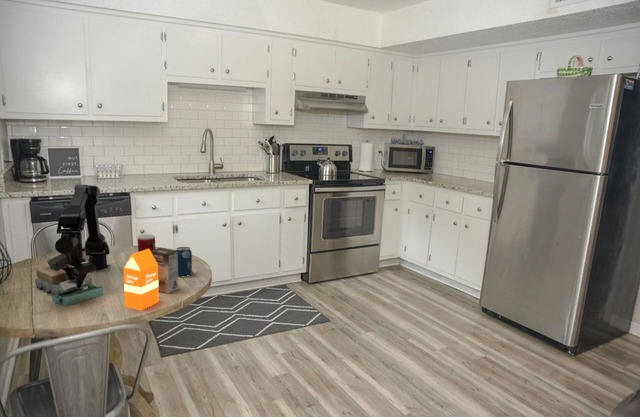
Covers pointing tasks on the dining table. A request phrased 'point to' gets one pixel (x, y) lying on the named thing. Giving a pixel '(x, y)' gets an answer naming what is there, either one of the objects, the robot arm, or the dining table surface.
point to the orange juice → (141, 280)
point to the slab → (52, 275)
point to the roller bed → (71, 297)
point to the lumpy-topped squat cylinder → (84, 251)
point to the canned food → (146, 242)
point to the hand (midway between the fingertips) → (76, 286)
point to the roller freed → (74, 284)
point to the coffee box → (166, 269)
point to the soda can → (184, 261)
